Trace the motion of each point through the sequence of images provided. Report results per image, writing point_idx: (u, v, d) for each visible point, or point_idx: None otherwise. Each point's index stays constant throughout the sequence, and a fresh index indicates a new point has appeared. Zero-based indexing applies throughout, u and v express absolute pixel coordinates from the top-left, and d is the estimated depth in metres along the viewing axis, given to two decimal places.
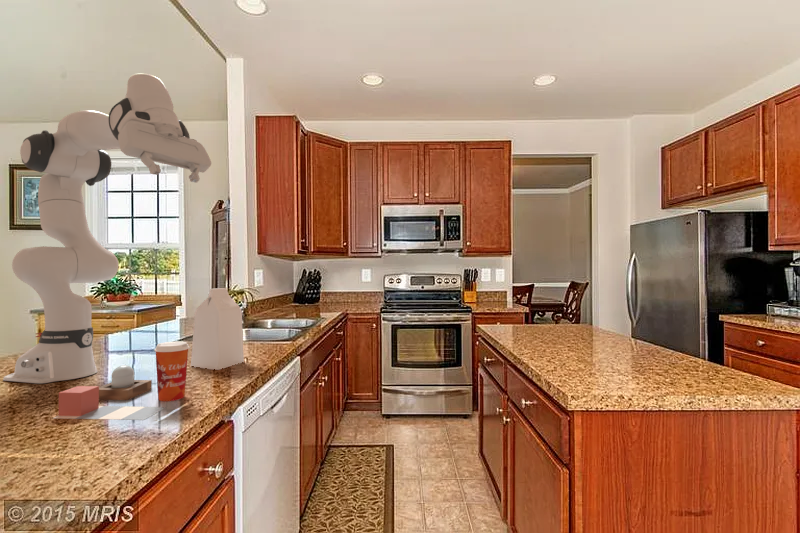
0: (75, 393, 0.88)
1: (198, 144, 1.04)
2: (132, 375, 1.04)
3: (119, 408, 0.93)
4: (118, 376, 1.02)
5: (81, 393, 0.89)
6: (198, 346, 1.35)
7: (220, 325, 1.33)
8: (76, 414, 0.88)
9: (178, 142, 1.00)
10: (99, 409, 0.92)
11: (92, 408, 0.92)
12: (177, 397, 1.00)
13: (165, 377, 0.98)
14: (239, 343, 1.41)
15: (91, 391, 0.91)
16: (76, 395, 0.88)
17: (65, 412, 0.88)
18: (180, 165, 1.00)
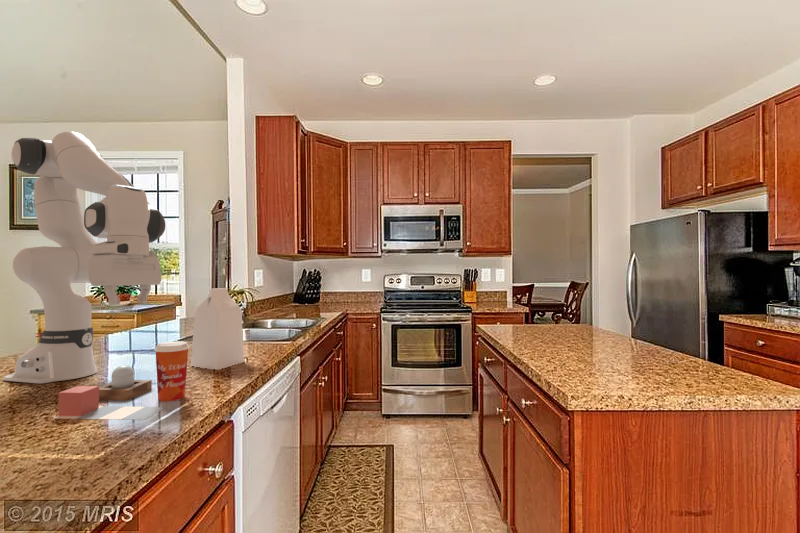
0: (75, 393, 0.88)
1: (156, 262, 1.10)
2: (132, 375, 1.04)
3: (119, 408, 0.93)
4: (118, 376, 1.02)
5: (81, 393, 0.89)
6: (198, 346, 1.35)
7: (220, 325, 1.33)
8: (76, 414, 0.88)
9: (141, 265, 1.05)
10: (99, 409, 0.92)
11: (92, 408, 0.92)
12: (177, 397, 1.00)
13: (165, 377, 0.98)
14: (239, 343, 1.41)
15: (91, 391, 0.91)
16: (76, 395, 0.88)
17: (65, 412, 0.88)
18: None
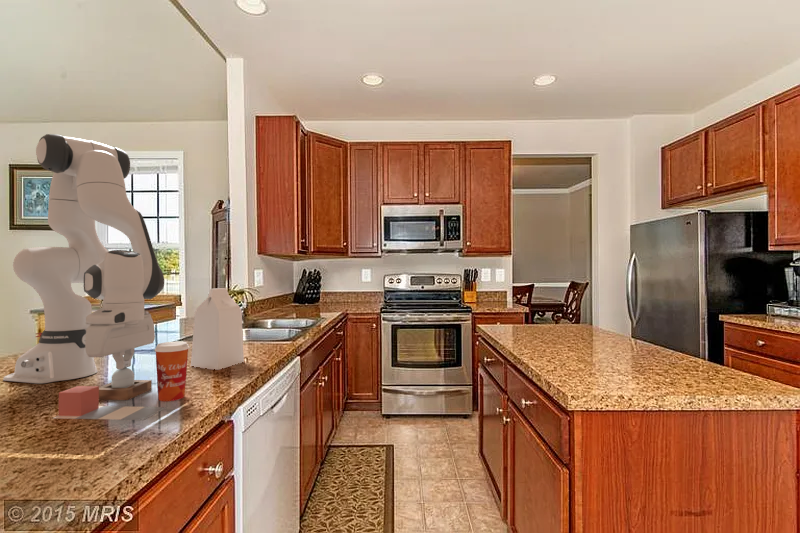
0: (75, 393, 0.88)
1: (150, 321, 1.12)
2: (132, 378, 1.04)
3: (119, 408, 0.93)
4: (118, 379, 1.02)
5: (81, 393, 0.89)
6: (198, 346, 1.35)
7: (220, 325, 1.33)
8: (76, 414, 0.88)
9: (136, 328, 1.06)
10: (99, 409, 0.92)
11: (92, 408, 0.92)
12: (177, 397, 1.00)
13: (165, 377, 0.98)
14: (239, 343, 1.41)
15: (91, 391, 0.91)
16: (76, 395, 0.88)
17: (65, 412, 0.88)
18: None
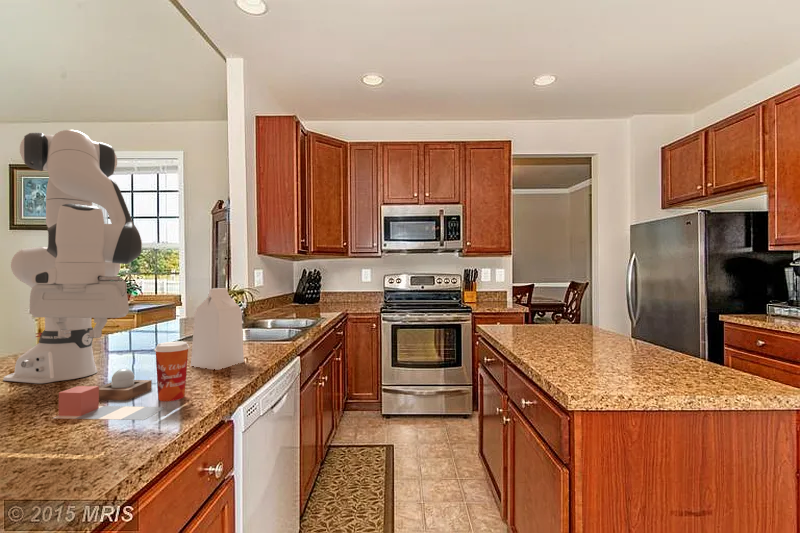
0: (75, 393, 0.88)
1: (107, 290, 0.89)
2: (132, 379, 1.04)
3: (119, 408, 0.93)
4: (118, 380, 1.02)
5: (81, 393, 0.89)
6: (198, 346, 1.35)
7: (220, 325, 1.33)
8: (76, 414, 0.88)
9: (85, 294, 0.90)
10: (99, 409, 0.92)
11: (92, 408, 0.92)
12: (177, 397, 1.00)
13: (165, 377, 0.98)
14: (239, 343, 1.41)
15: (91, 391, 0.91)
16: (76, 395, 0.88)
17: (65, 412, 0.88)
18: None
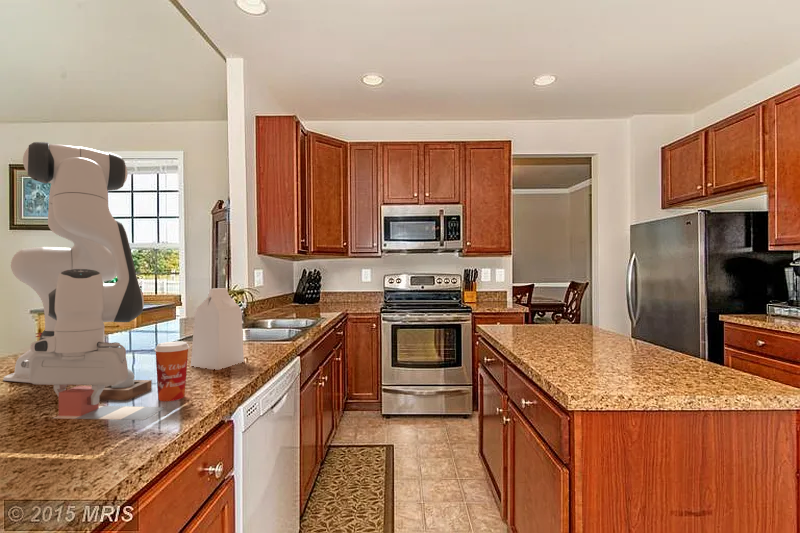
0: (75, 393, 0.88)
1: (106, 357, 0.89)
2: (132, 379, 1.04)
3: (119, 408, 0.93)
4: None
5: (81, 393, 0.89)
6: (198, 346, 1.35)
7: (220, 325, 1.33)
8: (76, 414, 0.88)
9: (84, 361, 0.89)
10: (99, 409, 0.92)
11: (92, 408, 0.92)
12: (177, 397, 1.00)
13: (165, 377, 0.98)
14: (239, 343, 1.41)
15: (91, 391, 0.91)
16: (76, 395, 0.88)
17: (65, 412, 0.88)
18: None
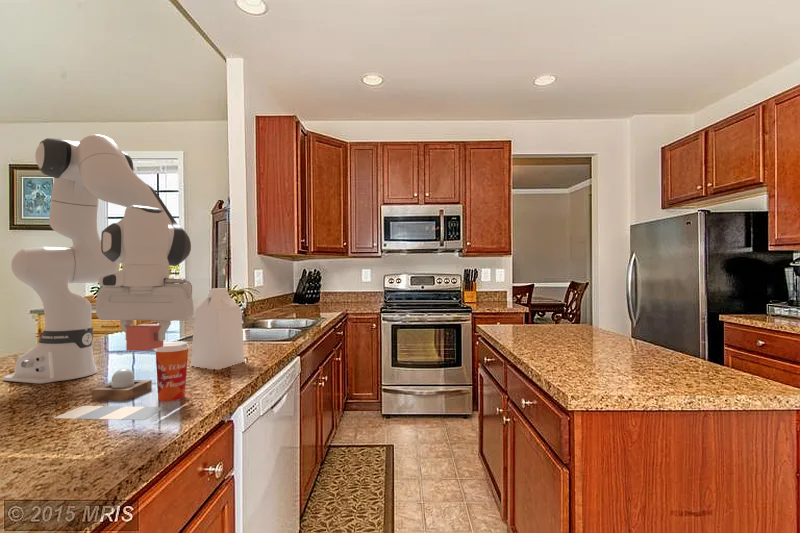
0: (143, 328, 0.88)
1: (174, 292, 0.89)
2: (132, 379, 1.04)
3: (119, 408, 0.93)
4: (118, 380, 1.02)
5: (149, 328, 0.88)
6: (198, 346, 1.35)
7: (220, 325, 1.33)
8: (144, 349, 0.88)
9: (151, 296, 0.89)
10: (99, 409, 0.92)
11: (158, 345, 0.91)
12: (177, 397, 1.00)
13: (165, 377, 0.98)
14: (239, 343, 1.41)
15: (157, 327, 0.91)
16: (144, 329, 0.88)
17: (133, 347, 0.88)
18: None
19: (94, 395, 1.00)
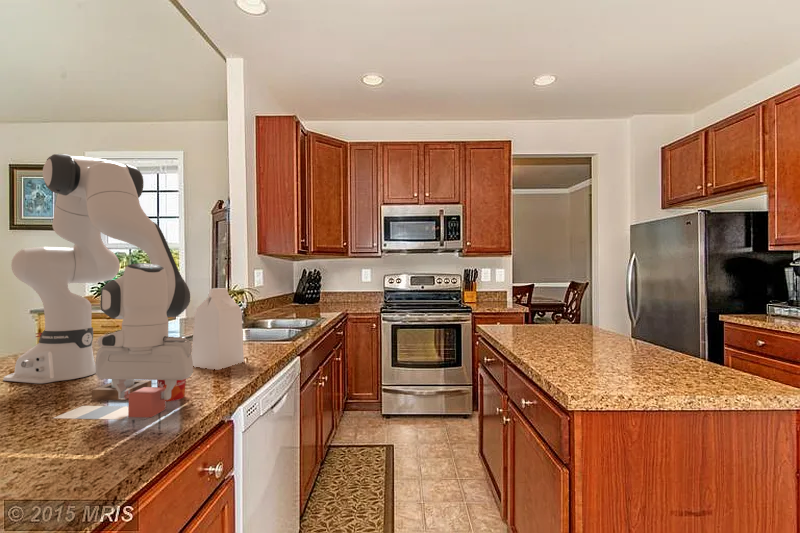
0: (145, 394, 0.88)
1: (174, 352, 0.88)
2: None
3: (119, 408, 0.93)
4: None
5: (151, 394, 0.88)
6: (198, 346, 1.35)
7: (220, 325, 1.33)
8: (146, 415, 0.88)
9: (151, 356, 0.89)
10: (99, 409, 0.92)
11: (160, 409, 0.91)
12: (177, 397, 1.00)
13: None
14: (239, 343, 1.41)
15: (159, 392, 0.91)
16: (146, 396, 0.88)
17: (135, 414, 0.88)
18: None
19: (94, 395, 1.00)
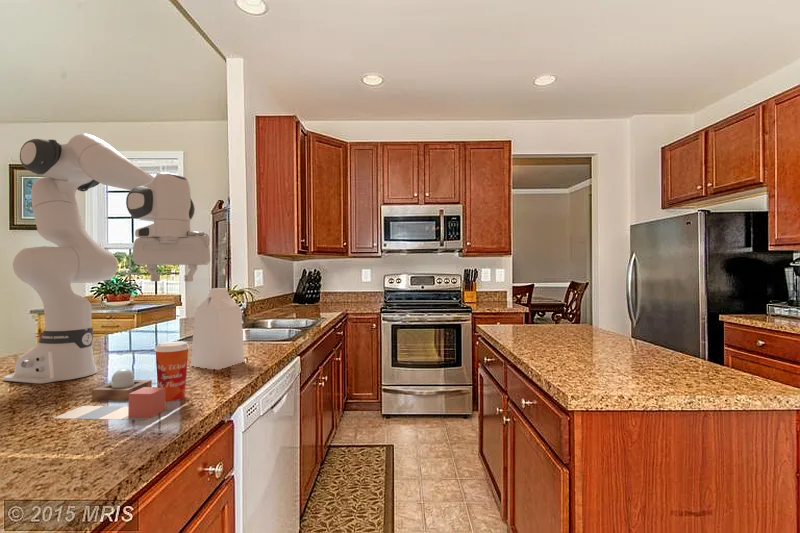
0: (145, 394, 0.88)
1: (195, 242, 1.11)
2: (132, 379, 1.04)
3: (119, 408, 0.93)
4: (118, 380, 1.02)
5: (151, 394, 0.88)
6: (198, 346, 1.35)
7: (220, 325, 1.33)
8: (146, 415, 0.88)
9: (177, 245, 1.11)
10: (99, 409, 0.92)
11: (160, 409, 0.91)
12: (177, 397, 1.00)
13: (165, 377, 0.98)
14: (239, 343, 1.41)
15: (159, 392, 0.91)
16: (146, 396, 0.88)
17: (135, 414, 0.88)
18: None
19: (94, 395, 1.00)
